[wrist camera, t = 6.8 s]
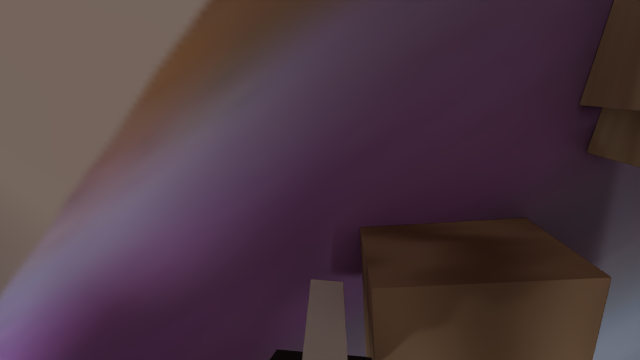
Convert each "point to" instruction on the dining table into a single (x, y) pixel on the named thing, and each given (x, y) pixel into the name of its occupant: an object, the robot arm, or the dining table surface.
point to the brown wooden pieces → (617, 86)
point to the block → (478, 293)
